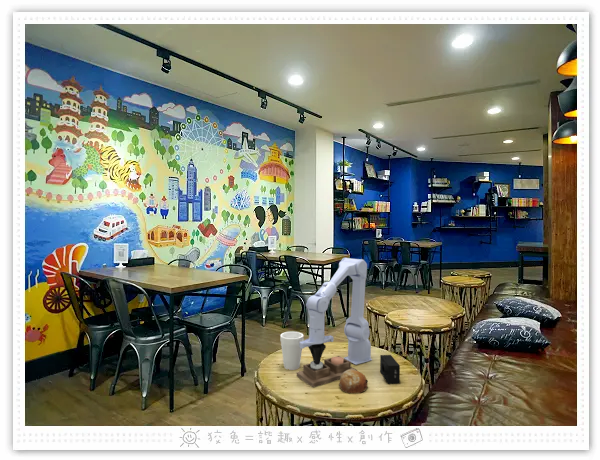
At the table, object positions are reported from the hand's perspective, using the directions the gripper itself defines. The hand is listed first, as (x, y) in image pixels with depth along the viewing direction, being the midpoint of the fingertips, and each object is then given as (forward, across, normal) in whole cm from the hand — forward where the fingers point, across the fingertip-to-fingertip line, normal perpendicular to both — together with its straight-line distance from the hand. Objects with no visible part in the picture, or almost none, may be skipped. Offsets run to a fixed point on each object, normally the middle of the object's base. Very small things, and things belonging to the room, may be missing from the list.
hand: (316, 363), depth 134 cm
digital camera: (+6, -23, +14) cm, 28 cm away
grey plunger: (+3, 0, 0) cm, 3 cm away
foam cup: (+6, +2, -14) cm, 15 cm away
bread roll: (+6, -7, +13) cm, 16 cm away
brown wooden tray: (+6, -5, 0) cm, 8 cm away
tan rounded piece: (+3, -10, 0) cm, 11 cm away
